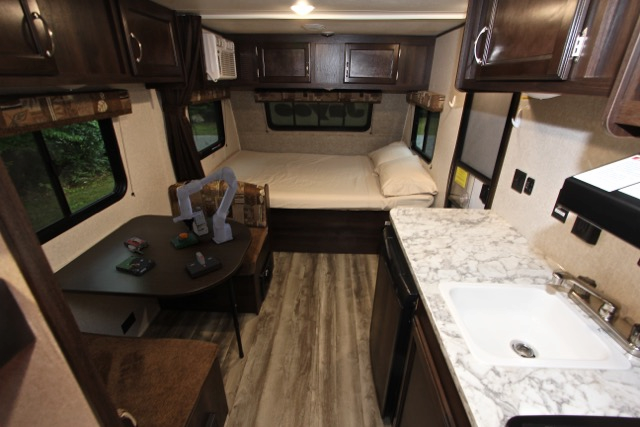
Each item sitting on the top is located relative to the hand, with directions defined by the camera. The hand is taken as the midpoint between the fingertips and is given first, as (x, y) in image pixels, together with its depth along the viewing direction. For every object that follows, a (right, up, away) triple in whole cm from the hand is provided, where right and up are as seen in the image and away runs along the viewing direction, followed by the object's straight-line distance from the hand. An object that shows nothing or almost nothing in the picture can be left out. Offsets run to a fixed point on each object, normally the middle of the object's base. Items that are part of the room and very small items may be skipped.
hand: (190, 230), depth 165 cm
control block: (-6, -8, +6) cm, 11 cm away
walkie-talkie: (-29, -10, 0) cm, 31 cm away
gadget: (+14, -18, -16) cm, 28 cm away
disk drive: (-20, -18, -17) cm, 32 cm away
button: (-6, -4, +4) cm, 8 cm away
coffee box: (-1, -2, +18) cm, 18 cm away
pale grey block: (+13, -15, -17) cm, 26 cm away
